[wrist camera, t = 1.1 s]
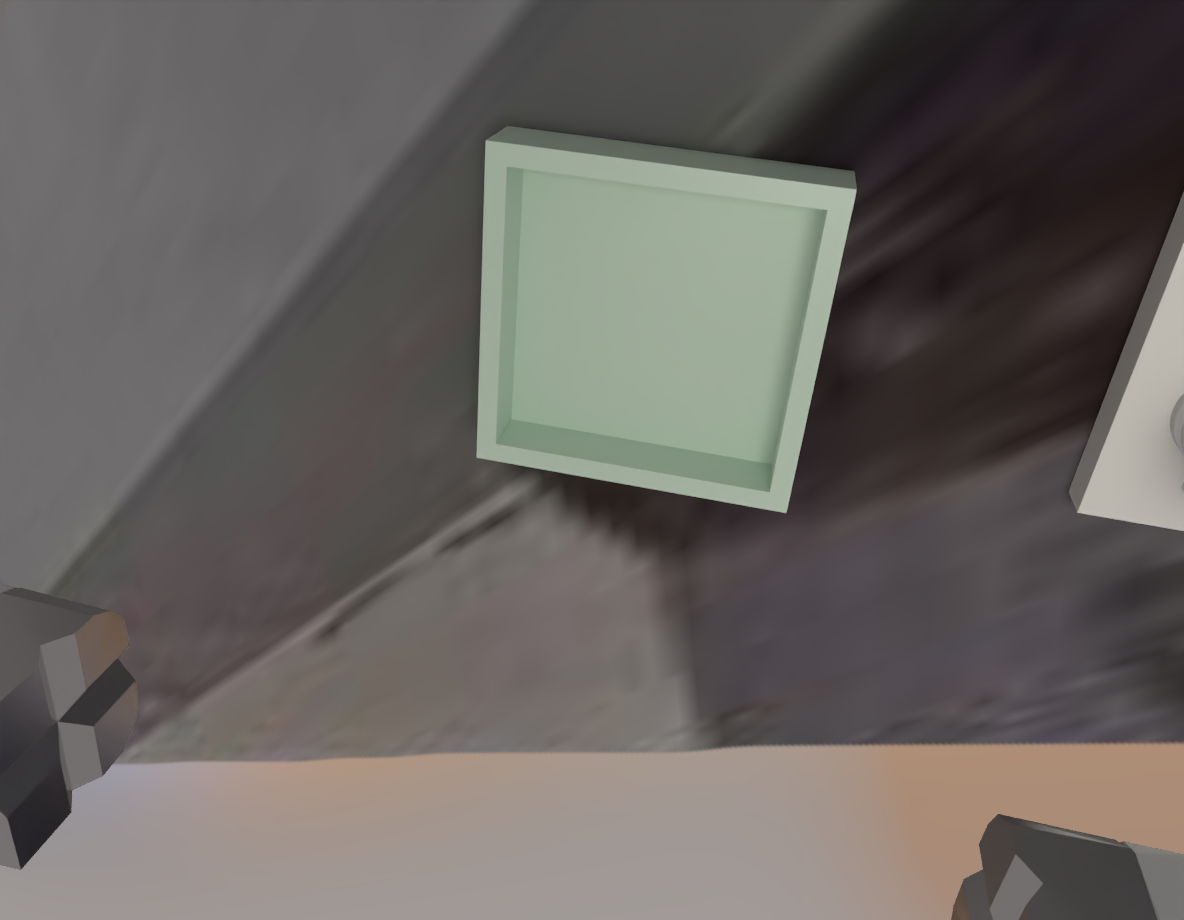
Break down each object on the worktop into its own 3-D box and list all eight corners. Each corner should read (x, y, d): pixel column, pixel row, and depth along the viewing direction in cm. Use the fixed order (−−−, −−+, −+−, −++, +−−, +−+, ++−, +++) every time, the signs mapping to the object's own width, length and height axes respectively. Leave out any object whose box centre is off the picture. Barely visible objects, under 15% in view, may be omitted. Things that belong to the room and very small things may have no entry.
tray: (507, 125, 46) (485, 140, 43) (854, 171, 43) (856, 189, 40) (496, 427, 53) (476, 457, 50) (788, 478, 51) (786, 513, 48)
